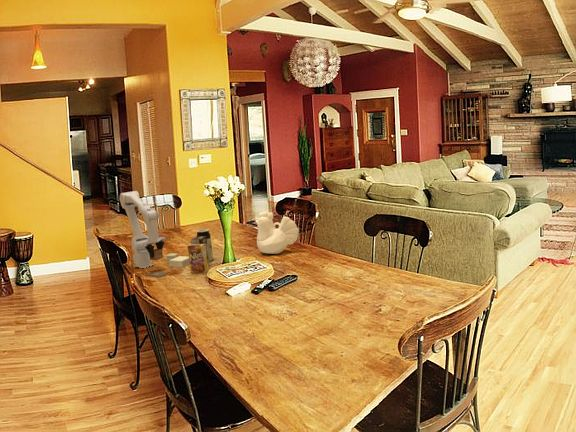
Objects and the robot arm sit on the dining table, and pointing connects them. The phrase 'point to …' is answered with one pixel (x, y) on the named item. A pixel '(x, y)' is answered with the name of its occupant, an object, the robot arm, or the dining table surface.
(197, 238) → the coffee box
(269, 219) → the decorative rooster
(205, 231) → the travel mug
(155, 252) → the walnut block
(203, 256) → the candy box
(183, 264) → the base block
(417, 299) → the dining table surface
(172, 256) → the sage block
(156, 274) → the card
